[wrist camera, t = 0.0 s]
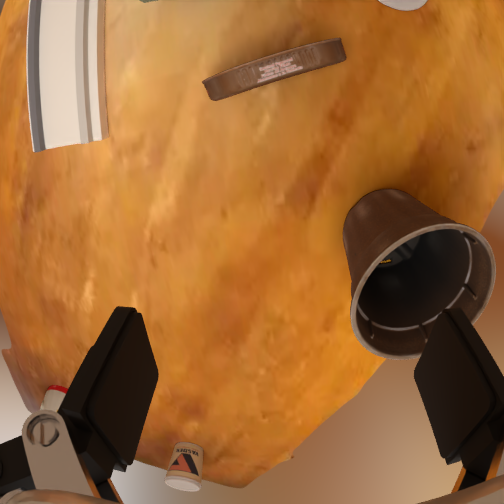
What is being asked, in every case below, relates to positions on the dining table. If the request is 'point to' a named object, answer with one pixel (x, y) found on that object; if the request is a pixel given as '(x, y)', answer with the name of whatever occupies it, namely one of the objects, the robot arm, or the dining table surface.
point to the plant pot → (411, 272)
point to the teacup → (404, 4)
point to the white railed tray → (66, 72)
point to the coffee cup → (185, 467)
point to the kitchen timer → (53, 398)
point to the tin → (274, 68)
